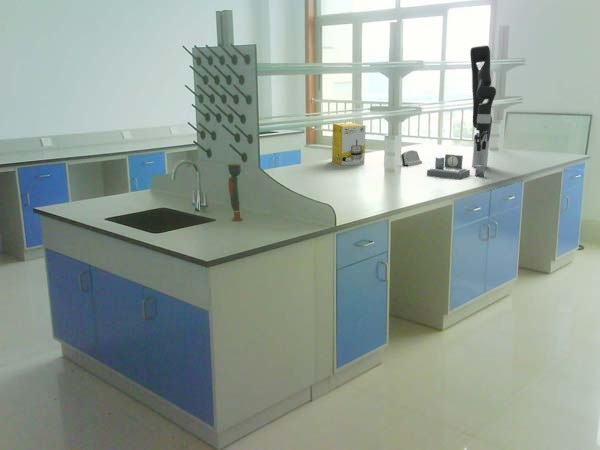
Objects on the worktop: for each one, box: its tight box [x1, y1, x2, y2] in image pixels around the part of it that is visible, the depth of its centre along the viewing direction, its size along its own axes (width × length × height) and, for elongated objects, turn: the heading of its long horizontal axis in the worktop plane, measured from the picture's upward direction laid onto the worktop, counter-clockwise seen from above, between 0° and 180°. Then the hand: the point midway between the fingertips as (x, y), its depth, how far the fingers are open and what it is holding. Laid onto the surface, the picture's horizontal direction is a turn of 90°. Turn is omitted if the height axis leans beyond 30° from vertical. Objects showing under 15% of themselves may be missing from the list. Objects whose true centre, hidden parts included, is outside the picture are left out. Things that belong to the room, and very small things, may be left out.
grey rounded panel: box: [400, 150, 423, 167], centre depth 391 cm, size 17×5×10 cm, turn 137°
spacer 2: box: [474, 165, 486, 178], centre depth 351 cm, size 5×5×6 cm
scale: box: [426, 153, 471, 180], centre depth 353 cm, size 16×20×11 cm
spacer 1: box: [434, 156, 445, 169], centre depth 354 cm, size 5×5×6 cm
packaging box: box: [331, 122, 366, 166], centre depth 394 cm, size 16×16×25 cm
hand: (481, 150), depth 348 cm, fingers open, 8 cm apart
